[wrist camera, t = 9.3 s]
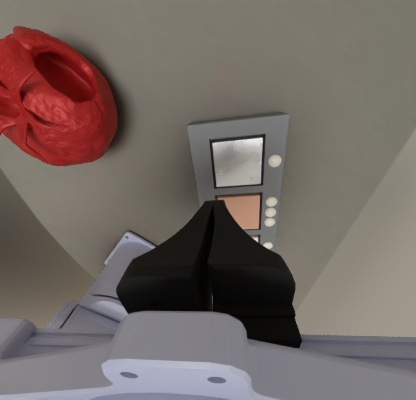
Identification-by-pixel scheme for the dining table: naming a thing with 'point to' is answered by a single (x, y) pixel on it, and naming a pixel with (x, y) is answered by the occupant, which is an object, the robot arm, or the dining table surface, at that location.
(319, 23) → the dining table surface
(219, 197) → the button three dot
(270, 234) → the button panel
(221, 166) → the button one dot
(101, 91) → the red hollow rounded sculpture
